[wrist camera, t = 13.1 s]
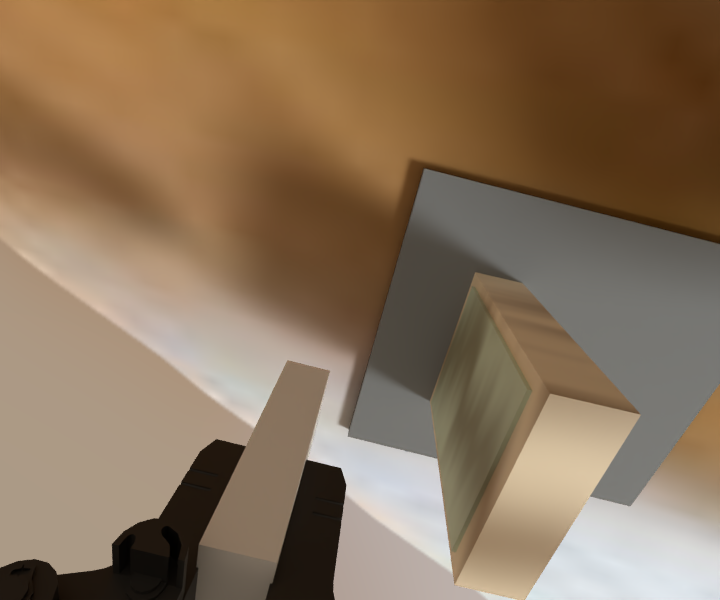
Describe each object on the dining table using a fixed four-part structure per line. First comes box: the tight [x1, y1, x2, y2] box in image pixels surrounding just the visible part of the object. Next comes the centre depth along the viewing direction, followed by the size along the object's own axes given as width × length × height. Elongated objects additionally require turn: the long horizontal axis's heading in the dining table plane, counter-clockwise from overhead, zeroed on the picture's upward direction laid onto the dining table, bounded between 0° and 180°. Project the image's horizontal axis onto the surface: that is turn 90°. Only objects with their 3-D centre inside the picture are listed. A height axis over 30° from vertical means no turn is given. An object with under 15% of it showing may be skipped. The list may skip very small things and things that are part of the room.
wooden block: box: [430, 272, 641, 600], centre depth 16 cm, size 8×2×10 cm, turn 168°
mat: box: [348, 168, 720, 506], centre depth 21 cm, size 16×18×1 cm
